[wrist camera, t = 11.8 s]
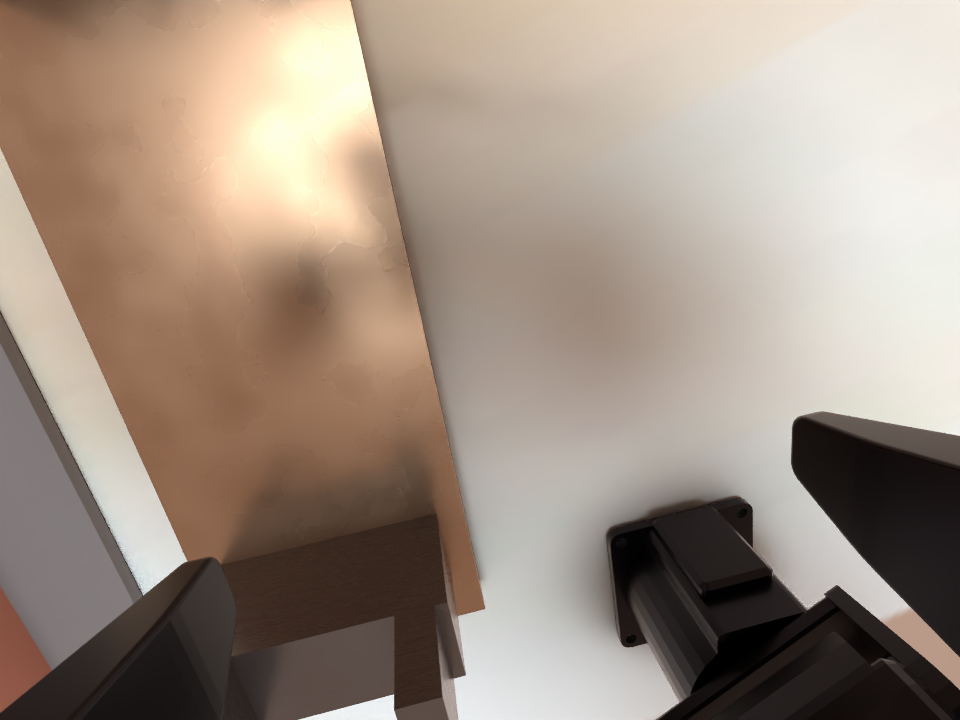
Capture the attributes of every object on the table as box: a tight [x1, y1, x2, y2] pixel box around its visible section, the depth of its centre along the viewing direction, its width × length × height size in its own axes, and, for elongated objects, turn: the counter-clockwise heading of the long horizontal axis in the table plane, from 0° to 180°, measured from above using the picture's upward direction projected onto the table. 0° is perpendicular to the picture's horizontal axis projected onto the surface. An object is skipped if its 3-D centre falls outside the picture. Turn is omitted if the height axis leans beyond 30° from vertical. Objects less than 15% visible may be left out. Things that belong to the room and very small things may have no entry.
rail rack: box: [0, 0, 485, 720], centre depth 14 cm, size 28×10×9 cm, turn 10°
